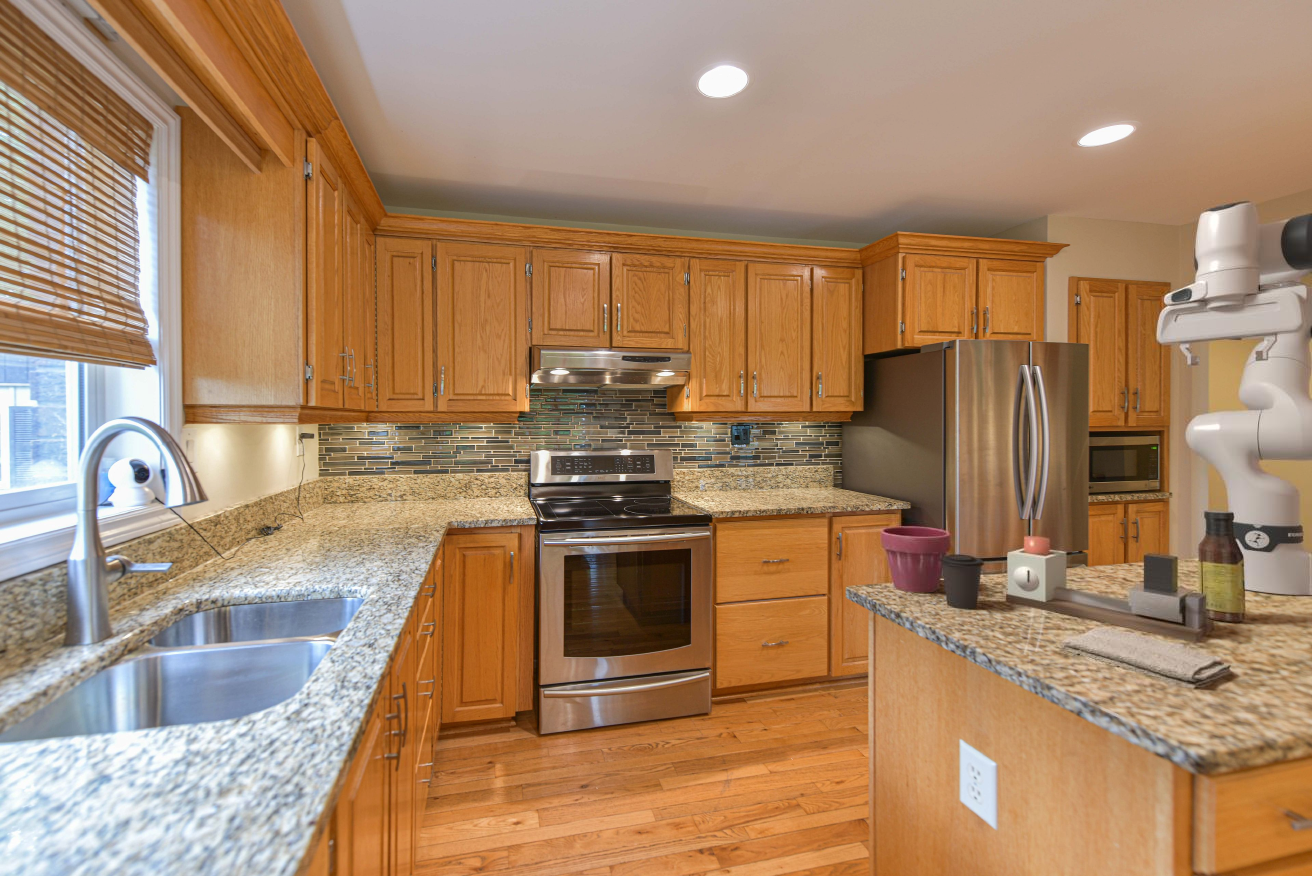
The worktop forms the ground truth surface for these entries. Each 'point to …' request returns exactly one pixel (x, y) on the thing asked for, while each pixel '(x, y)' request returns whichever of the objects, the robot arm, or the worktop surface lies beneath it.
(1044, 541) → the plunger
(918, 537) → the plant pot
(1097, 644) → the washcloth
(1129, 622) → the rail board
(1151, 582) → the carriage
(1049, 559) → the gauge cabinet
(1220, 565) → the sauce bottle
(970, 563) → the coffee cup
